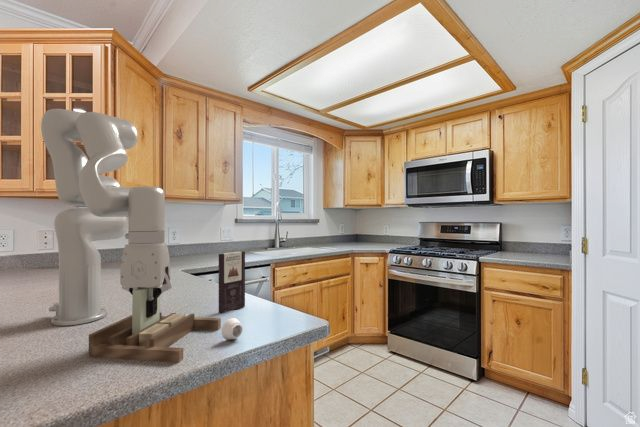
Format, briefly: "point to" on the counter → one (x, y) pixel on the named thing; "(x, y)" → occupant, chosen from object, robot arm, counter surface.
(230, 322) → the white jar
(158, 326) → the offcut
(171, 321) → the offcut
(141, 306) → the sage green slab
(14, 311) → the counter surface
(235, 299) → the chocolate bar
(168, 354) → the rack
